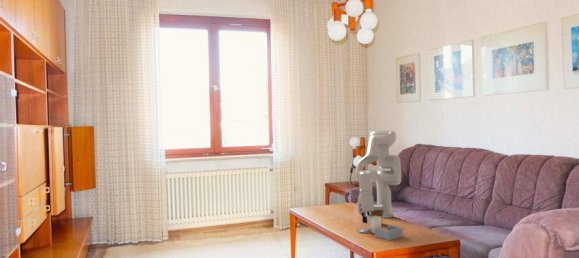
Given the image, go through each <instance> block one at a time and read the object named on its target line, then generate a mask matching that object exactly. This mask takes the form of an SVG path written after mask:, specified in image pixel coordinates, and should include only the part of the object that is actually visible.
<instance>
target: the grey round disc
mask: <svg viewBox="0 0 579 258" xmlns="http://www.w3.org/2000/svg"><path fill="white" fill-rule="evenodd" d="M356 232H357V233H359V234H372V233H371V232H370V228H368V227H367V228H366V227H361V228H357V230H356Z"/></svg>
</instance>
